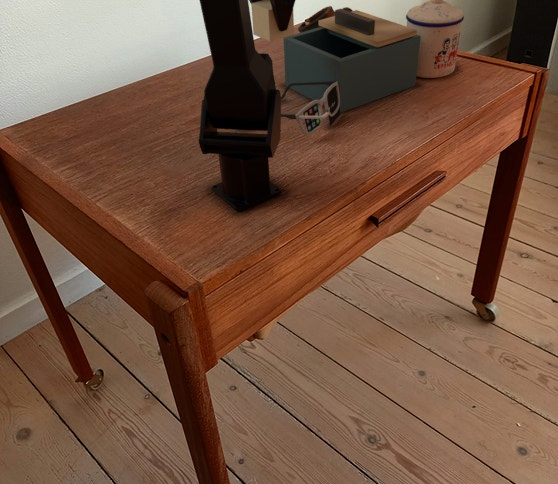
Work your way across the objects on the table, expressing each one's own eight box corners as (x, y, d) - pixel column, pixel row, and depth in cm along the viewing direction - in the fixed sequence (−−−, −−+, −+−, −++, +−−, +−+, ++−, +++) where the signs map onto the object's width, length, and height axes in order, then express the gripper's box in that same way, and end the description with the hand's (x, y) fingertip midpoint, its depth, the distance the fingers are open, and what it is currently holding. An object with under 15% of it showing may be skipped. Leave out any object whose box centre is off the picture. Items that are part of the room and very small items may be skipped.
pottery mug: (339, 65, 104) (316, 22, 100) (306, 76, 112) (283, 37, 108) (376, 28, 109) (355, -14, 105) (342, 41, 116) (321, 3, 113)
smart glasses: (328, 148, 79) (321, 113, 76) (244, 144, 87) (235, 112, 84) (367, 111, 86) (362, 78, 83) (286, 111, 94) (279, 80, 91)
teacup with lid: (440, 83, 95) (451, 6, 87) (391, 72, 99) (397, -2, 92) (472, 60, 102) (484, -13, 94) (424, 51, 106) (433, -20, 99)
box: (415, 85, 95) (420, 35, 90) (338, 113, 88) (340, 61, 83) (358, 62, 104) (360, 15, 99) (285, 86, 97) (283, 37, 92)
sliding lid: (416, 35, 89) (418, 15, 87) (377, 47, 86) (378, 27, 84) (356, 14, 98) (356, -4, 96) (318, 25, 95) (318, 7, 93)
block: (294, 34, 79) (293, 3, 76) (270, 42, 77) (268, 10, 75) (276, 27, 82) (275, -4, 79) (253, 34, 80) (250, 3, 77)
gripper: (372, -115, 66) (365, 29, 76) (276, -127, 78) (281, -1, 88) (293, -100, 61) (297, 51, 72) (203, -116, 73) (218, 16, 83)
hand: (273, 26), depth 79 cm, fingers closed on block, 4 cm apart
